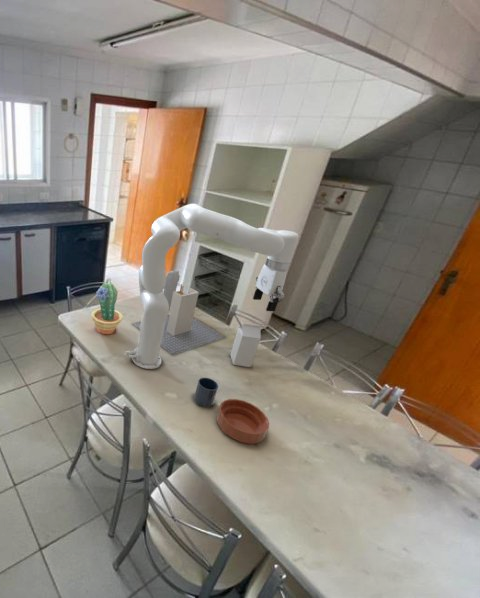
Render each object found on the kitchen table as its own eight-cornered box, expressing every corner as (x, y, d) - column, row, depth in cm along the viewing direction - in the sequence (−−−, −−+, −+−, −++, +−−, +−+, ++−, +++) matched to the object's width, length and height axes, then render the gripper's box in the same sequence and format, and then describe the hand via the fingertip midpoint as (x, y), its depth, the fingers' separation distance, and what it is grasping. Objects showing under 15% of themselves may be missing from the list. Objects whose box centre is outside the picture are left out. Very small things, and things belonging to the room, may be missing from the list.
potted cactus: (86, 323, 168) (89, 278, 157) (114, 320, 172) (118, 276, 161) (96, 339, 155) (100, 291, 144) (126, 335, 159) (132, 289, 148)
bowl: (228, 445, 104) (232, 433, 102) (209, 409, 118) (212, 398, 116) (273, 444, 105) (278, 433, 103) (249, 409, 119) (253, 399, 116)
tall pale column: (171, 302, 194) (178, 268, 184) (176, 305, 191) (183, 270, 181) (157, 305, 189) (163, 270, 180) (162, 309, 186) (168, 273, 176)
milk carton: (250, 367, 141) (263, 330, 133) (233, 365, 142) (245, 327, 134) (246, 358, 147) (258, 321, 139) (229, 355, 148) (241, 319, 140)
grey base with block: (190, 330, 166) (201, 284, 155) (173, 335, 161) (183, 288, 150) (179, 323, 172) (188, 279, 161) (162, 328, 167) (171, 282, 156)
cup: (197, 407, 118) (202, 390, 115) (191, 394, 124) (195, 377, 121) (216, 407, 119) (221, 390, 115) (208, 394, 125) (213, 377, 121)
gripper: (255, 256, 129) (243, 295, 137) (281, 272, 114) (266, 315, 121) (273, 256, 130) (260, 295, 137) (301, 273, 114) (285, 316, 122)
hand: (263, 304), depth 129 cm, fingers open, 9 cm apart
